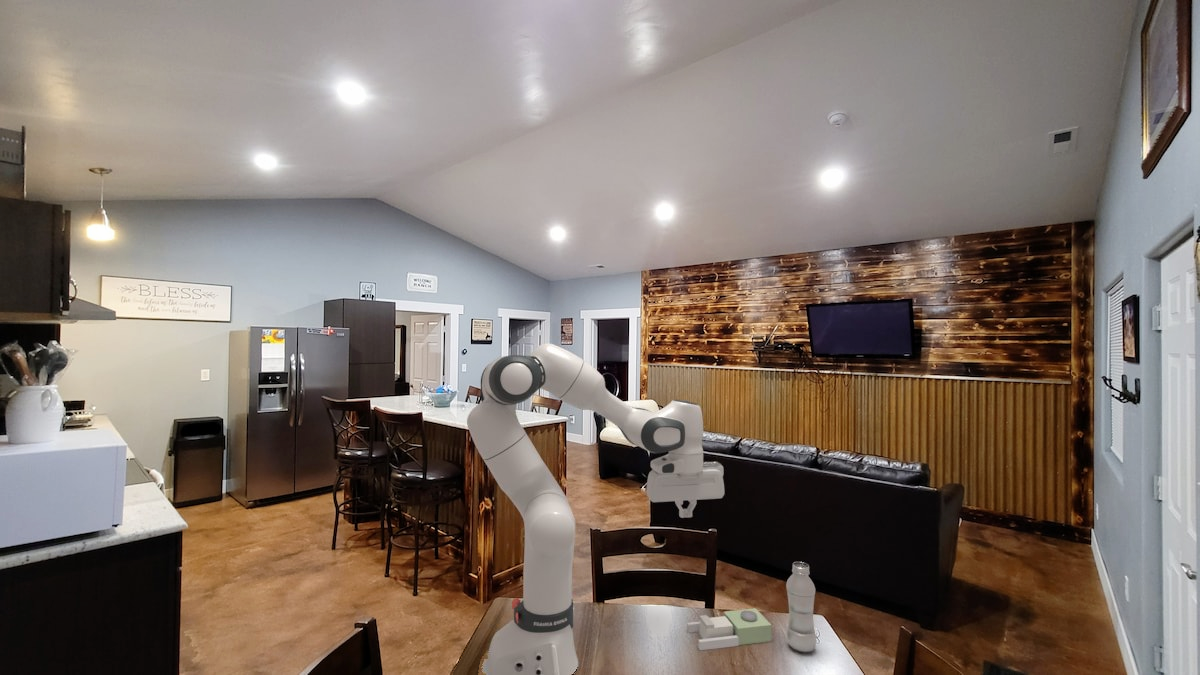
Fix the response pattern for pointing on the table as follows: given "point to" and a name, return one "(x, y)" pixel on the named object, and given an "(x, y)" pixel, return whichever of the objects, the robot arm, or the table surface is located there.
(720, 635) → the white stepped block
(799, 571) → the plastic bottle
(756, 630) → the pale green forked block
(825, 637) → the table surface
